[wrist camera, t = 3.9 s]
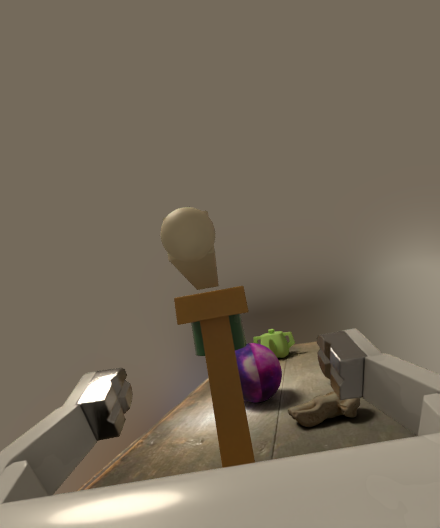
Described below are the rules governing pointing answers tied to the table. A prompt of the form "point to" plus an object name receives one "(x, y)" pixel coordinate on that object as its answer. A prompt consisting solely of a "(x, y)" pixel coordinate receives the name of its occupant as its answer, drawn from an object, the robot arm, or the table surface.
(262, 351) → the decorative orb
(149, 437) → the table surface
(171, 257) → the switch rod
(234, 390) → the desk lamp
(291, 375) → the table surface
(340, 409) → the sculpture
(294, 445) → the table surface
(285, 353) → the teapot
